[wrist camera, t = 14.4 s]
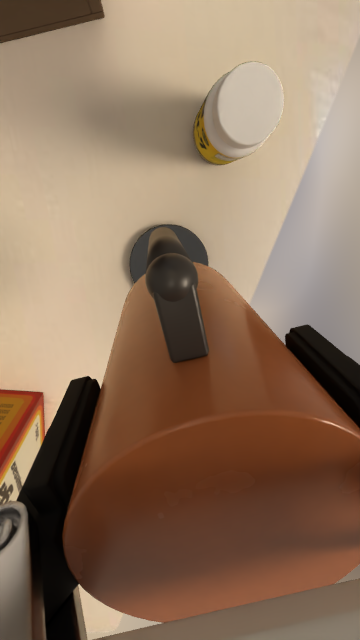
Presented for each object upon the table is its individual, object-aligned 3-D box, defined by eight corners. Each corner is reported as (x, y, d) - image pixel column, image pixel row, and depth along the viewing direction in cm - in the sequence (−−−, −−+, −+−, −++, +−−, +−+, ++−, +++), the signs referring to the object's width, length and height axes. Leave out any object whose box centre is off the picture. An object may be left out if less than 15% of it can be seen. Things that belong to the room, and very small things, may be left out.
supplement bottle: (193, 96, 23) (214, 45, 15) (251, 101, 23) (299, 53, 15) (190, 164, 25) (207, 149, 17) (243, 168, 25) (283, 154, 17)
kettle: (92, 234, 13) (-92, 347, 3) (224, 203, 13) (440, 220, 3) (152, 412, 18) (150, 688, 8) (250, 389, 18) (376, 638, 8)
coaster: (199, 215, 26) (200, 216, 26) (213, 291, 29) (214, 293, 29) (120, 235, 26) (119, 235, 26) (142, 308, 29) (141, 310, 29)
